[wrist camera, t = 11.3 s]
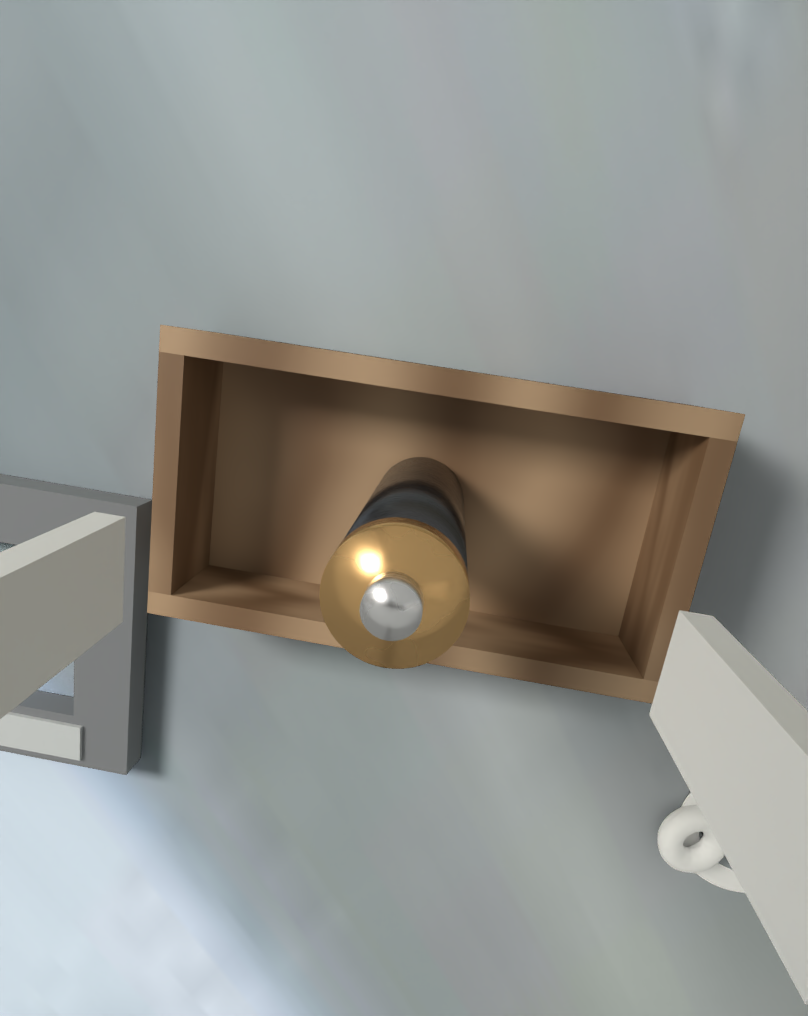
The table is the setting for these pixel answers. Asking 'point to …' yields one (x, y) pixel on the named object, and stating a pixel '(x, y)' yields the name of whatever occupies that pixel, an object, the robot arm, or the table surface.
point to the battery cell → (401, 570)
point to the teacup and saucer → (694, 846)
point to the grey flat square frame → (103, 667)
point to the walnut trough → (486, 492)
